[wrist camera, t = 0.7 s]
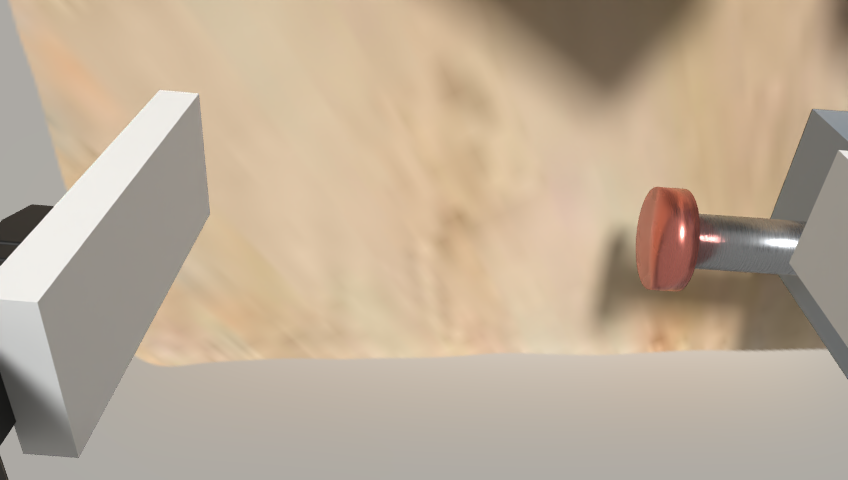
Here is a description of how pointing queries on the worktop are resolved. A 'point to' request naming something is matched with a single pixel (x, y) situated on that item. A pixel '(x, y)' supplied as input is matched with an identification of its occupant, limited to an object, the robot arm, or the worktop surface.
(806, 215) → the grey rectangular block
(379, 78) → the worktop surface
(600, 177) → the worktop surface
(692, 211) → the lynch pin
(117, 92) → the worktop surface
